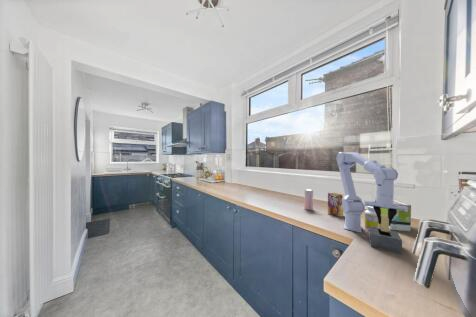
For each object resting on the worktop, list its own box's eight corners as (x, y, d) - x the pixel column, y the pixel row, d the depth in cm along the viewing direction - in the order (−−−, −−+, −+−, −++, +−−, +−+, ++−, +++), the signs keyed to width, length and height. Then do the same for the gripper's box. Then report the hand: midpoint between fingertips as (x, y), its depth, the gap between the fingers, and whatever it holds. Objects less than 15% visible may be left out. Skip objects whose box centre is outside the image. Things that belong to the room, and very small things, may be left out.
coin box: (369, 238, 83) (369, 226, 83) (396, 244, 78) (396, 231, 77) (371, 246, 75) (371, 233, 75) (401, 254, 69) (402, 240, 69)
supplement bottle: (369, 226, 97) (369, 204, 97) (382, 231, 91) (383, 207, 91) (361, 227, 95) (362, 205, 95) (374, 233, 89) (375, 209, 89)
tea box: (411, 231, 91) (412, 205, 90) (390, 230, 93) (390, 203, 92) (391, 221, 105) (392, 198, 105) (373, 220, 107) (374, 197, 107)
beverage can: (305, 207, 132) (306, 188, 132) (313, 209, 129) (314, 189, 128) (303, 209, 128) (303, 189, 128) (311, 210, 124) (311, 191, 124)
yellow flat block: (379, 226, 78) (379, 214, 78) (386, 228, 76) (387, 215, 76) (381, 230, 74) (381, 217, 74) (388, 232, 72) (388, 218, 72)
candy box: (343, 215, 115) (343, 193, 115) (341, 217, 112) (342, 194, 111) (329, 212, 121) (329, 191, 121) (327, 213, 118) (327, 192, 118)
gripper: (365, 193, 76) (364, 223, 76) (409, 198, 67) (409, 231, 68) (364, 191, 81) (363, 218, 82) (405, 195, 73) (404, 225, 73)
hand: (384, 224), depth 75 cm, fingers closed on yellow flat block, 2 cm apart
